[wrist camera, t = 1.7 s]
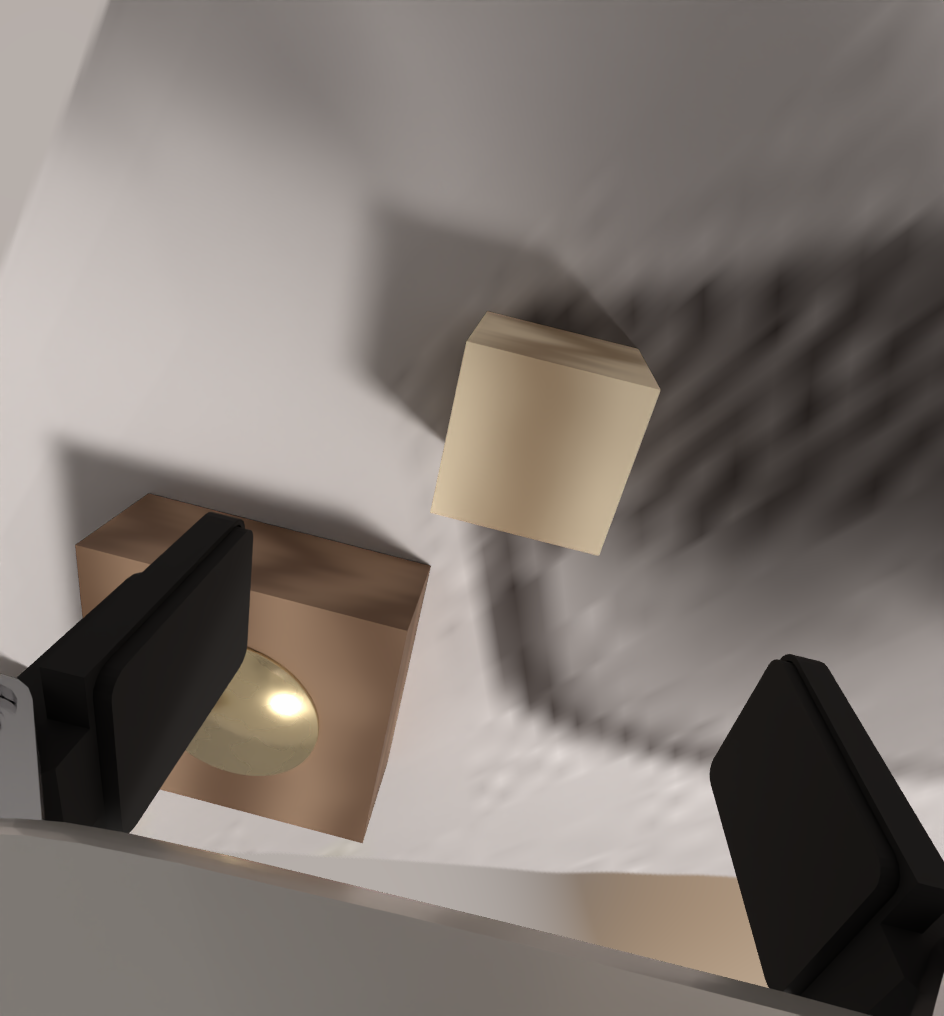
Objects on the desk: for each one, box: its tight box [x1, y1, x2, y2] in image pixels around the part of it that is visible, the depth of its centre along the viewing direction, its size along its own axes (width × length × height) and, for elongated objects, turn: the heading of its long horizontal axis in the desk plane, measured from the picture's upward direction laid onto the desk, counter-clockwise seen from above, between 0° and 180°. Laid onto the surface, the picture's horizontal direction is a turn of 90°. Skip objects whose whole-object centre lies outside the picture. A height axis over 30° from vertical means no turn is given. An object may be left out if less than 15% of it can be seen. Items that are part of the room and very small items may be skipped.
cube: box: [430, 311, 661, 556], centre depth 22 cm, size 6×6×6 cm
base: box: [75, 493, 431, 843], centre depth 30 cm, size 14×14×5 cm
